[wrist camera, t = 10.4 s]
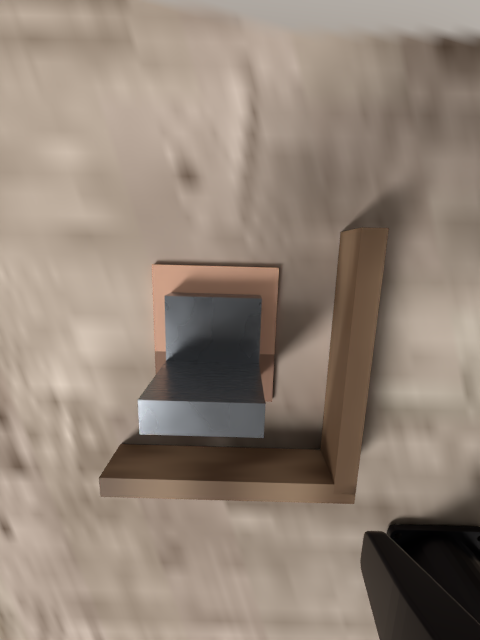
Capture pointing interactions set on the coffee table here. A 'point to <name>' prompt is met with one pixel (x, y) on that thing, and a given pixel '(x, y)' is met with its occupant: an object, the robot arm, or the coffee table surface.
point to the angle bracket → (207, 369)
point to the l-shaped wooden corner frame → (273, 463)
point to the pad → (220, 283)
